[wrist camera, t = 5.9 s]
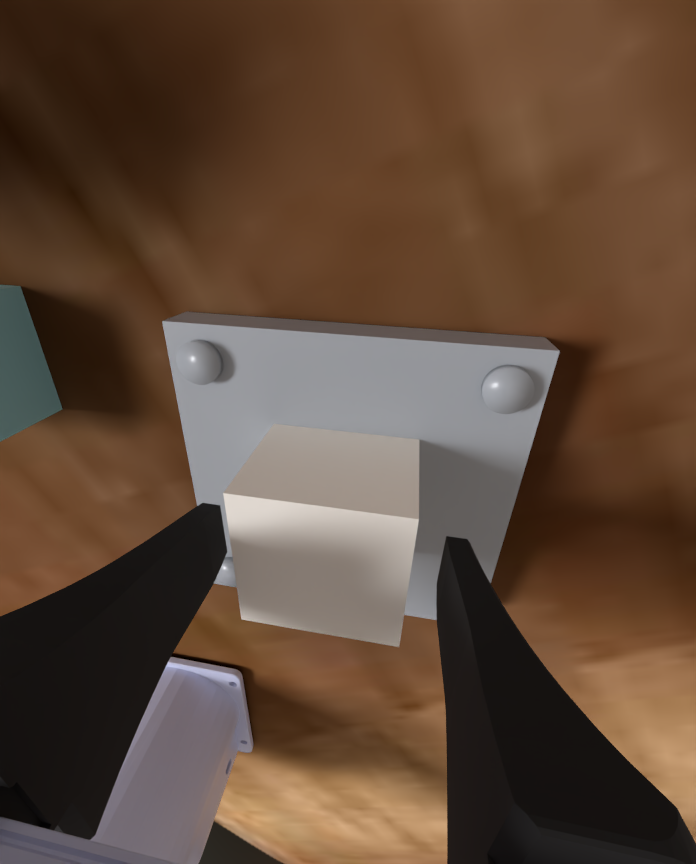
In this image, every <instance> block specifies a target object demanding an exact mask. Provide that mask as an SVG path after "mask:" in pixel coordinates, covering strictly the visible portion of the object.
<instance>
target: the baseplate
mask: <svg viewBox="0 0 696 864" xmlns="http://www.w3.org/2000/svg"><path fill="white" fill-rule="evenodd" d="M162 323H163V328H164V334H165V339H166V344H167V349H168V355H169V360H170V365H171V370H172V376H173V381H174V386H175V391H176V397H177V402H178V407H179V412H180V418H181V423H182V428H183V433H184V439H185V444H186V449H187V454H188V460H189V465H190V470H191V475H192V481H193V486H194V491H195V496H196V502H197V506H198V505H200V504H202V503H208V504H215V505H220V507H221V514H222V520H223V527H224V533H225V540H226V546H227V554H226V556H225V559H224V561H223V564H222V566H221V568H220V571H219V573H218V575H217V577H216V579H215V582H214V584H220V585H226V586H231V587H237V585H236V578H235V571H234V564H233V557H232V550H231V543H230V537H229V530H228V523H227V516H226V509H225V502H224V496H223V493H224V491H225V490H226V489H227V487H228V486H229V484H230V483H231V482H232V480H233V479H234V478H235V476H236V475H237V473H238V472H239V471H240V469H241V468H242V467H243V465H244V464H245V463H246V461H247V460H248V458H249V457H250V456H251V454H252V453H253V452H254V450H255V449H256V447H257V446H258V445H259V443H260V442H261V441H262V439H263V438H264V437H265V435H266V434H267V432H268V431H269V430H270V428H271V427H272V426H273V424H281V425H290V426H299V427H308V428H318V429H327V430H336V431H345V432H354V433H364V434H373V435H382V436H391V437H401V438H410V439H419V522H418V529H417V535H416V541H415V548H414V554H413V561H412V567H411V573H410V580H409V586H408V593H407V599H406V605H405V612H404V615H409V616H415V617H421V618H427V619H433V620H437V609H436V598H437V579H438V574H439V569H440V564H441V559H442V554H443V549H444V545H445V540H446V536H450V537H457V538H464V539H468V541H469V542H470V544H471V546H472V548H473V550H474V553H475V555H476V557H477V559H478V561H479V563H480V565H481V567H482V569H483V571H484V573H485V575H486V576H487V578H488V580H489V582H490V584H491V581H492V578H493V574H494V571H495V567H496V564H497V561H498V557H499V554H500V551H501V547H502V544H503V541H504V537H505V534H506V530H507V527H508V524H509V520H510V517H511V514H512V510H513V507H514V504H515V500H516V497H517V494H518V490H519V487H520V483H521V480H522V477H523V473H524V470H525V467H526V463H527V460H528V457H529V453H530V450H531V446H532V443H533V440H534V436H535V433H536V430H537V426H538V423H539V420H540V416H541V413H542V409H543V406H544V403H545V399H546V396H547V393H548V389H549V386H550V383H551V379H552V376H553V372H554V369H555V366H556V362H557V359H558V356H559V352H560V351H559V350H558V349H557V348H556V347H555V346H554V345H553V344H552V343H551V342H550V341H548V340H547V339H546V338H545V337H534V336H520V335H506V334H492V333H478V332H464V331H450V330H436V329H421V328H407V327H393V326H379V325H365V324H351V323H337V322H323V321H309V320H295V319H281V318H267V317H253V316H239V315H225V314H211V313H197V312H185V313H182V314H179V315H177V316H174V317H171V318H169V319H166V320H164V321H162Z"/></svg>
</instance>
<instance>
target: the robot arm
mask: <svg viewBox="0 0 696 864" xmlns="http://www.w3.org/2000/svg"><path fill="white" fill-rule="evenodd" d="M226 554H227V546H226V540H225V533H224V527H223V520H222V514H221V507H220V505H215V504H208V503H202V504H200V505H198V506H197V507H195V508H194V509H192V510H191V511H189V512H188V513H186V514H185V515H184V516H182V517H181V518H179V519H178V520H176V521H175V522H173V523H172V524H171V525H169V526H168V527H166V528H165V529H163V530H162V531H160V532H159V533H157V534H156V535H154V536H153V537H151V538H150V539H148V540H147V541H145V542H144V543H142V544H141V545H139V546H138V547H136V548H134V549H133V550H131V551H130V552H128V553H126V554H125V555H123V556H121V557H120V558H118V559H117V560H115V561H113V562H112V563H110V564H108V565H107V566H105V567H103V568H101V569H100V570H98V571H96V572H94V573H92V574H91V575H89V576H87V577H85V578H83V579H81V580H79V581H77V582H75V583H74V584H72V585H70V586H68V587H66V588H63V589H61V590H59V591H57V592H55V593H53V594H51V595H48V596H46V597H44V598H42V599H40V600H38V601H36V602H33V603H31V604H29V605H27V606H24V607H22V608H20V609H17V610H15V611H13V612H10V613H8V614H5V615H3V616H0V864H198V863H199V861H200V858H201V856H202V853H203V850H204V847H205V844H206V841H207V839H208V836H209V833H210V830H211V827H212V824H213V821H214V818H215V815H216V813H217V810H218V807H219V804H220V801H221V798H222V795H223V792H224V789H225V787H226V784H227V781H228V778H229V775H230V772H231V769H232V766H233V763H234V761H235V758H236V755H237V752H238V751H241V752H246V753H250V752H251V751H252V749H253V746H254V744H253V738H252V732H251V726H250V719H249V713H248V707H247V701H246V695H245V689H244V683H243V677H242V674H241V672H240V671H239V670H237V669H233V668H228V667H223V666H218V665H212V664H207V663H202V662H197V661H192V660H186V659H181V658H176V657H171V656H172V654H173V652H174V650H175V648H176V646H177V645H178V643H179V641H180V639H181V638H182V636H183V634H184V633H185V631H186V629H187V628H188V626H189V624H190V623H191V621H192V619H193V618H194V616H195V614H196V612H197V611H198V609H199V607H200V606H201V604H202V602H203V601H204V599H205V597H206V595H207V594H208V592H209V590H210V589H211V587H212V585H213V583H214V582H215V579H216V577H217V575H218V573H219V571H220V568H221V566H222V564H223V561H224V559H225V556H226ZM436 609H437V627H438V636H439V646H440V655H441V665H442V674H443V683H444V692H445V705H446V733H447V818H448V859H447V864H696V843H695V841H694V839H693V837H692V835H691V834H690V832H689V830H688V828H687V826H686V824H685V823H684V821H683V819H682V817H681V815H680V813H679V811H678V809H677V808H676V807H675V806H674V805H673V804H672V803H671V802H670V801H669V800H668V799H667V798H666V797H665V796H664V795H663V794H662V793H661V792H660V791H659V790H658V789H657V788H656V787H655V786H654V785H653V784H652V783H651V782H649V781H648V780H647V779H646V778H645V777H644V776H643V775H642V774H641V773H640V772H639V771H638V770H637V769H636V768H635V767H634V766H633V765H632V764H631V763H630V762H629V761H628V760H627V759H626V758H625V757H624V756H623V755H622V754H621V753H620V752H619V751H618V750H617V749H616V748H615V747H614V746H613V745H612V744H611V743H610V742H609V741H608V740H607V738H606V737H605V736H604V735H603V734H602V733H601V732H600V731H599V730H598V729H597V728H596V727H595V725H594V724H593V723H592V722H591V721H590V720H589V719H588V717H587V716H586V715H585V714H584V713H583V712H582V711H581V709H580V708H579V707H578V706H577V705H576V704H575V703H574V701H573V700H572V699H571V698H570V697H569V696H568V695H567V693H566V692H565V691H564V690H563V689H562V687H561V686H560V685H559V684H558V682H557V681H556V680H555V679H554V677H553V676H552V675H551V674H550V672H549V671H548V670H547V669H546V667H545V666H544V665H543V663H542V662H541V661H540V659H539V658H538V657H537V655H536V654H535V653H534V651H533V650H532V649H531V647H530V646H529V644H528V643H527V641H526V640H525V639H524V637H523V636H522V634H521V633H520V631H519V630H518V628H517V627H516V625H515V624H514V622H513V621H512V619H511V617H510V616H509V614H508V613H507V611H506V609H505V608H504V606H503V605H502V603H501V601H500V599H499V598H498V596H497V594H496V593H495V591H494V589H493V587H492V586H491V584H490V582H489V580H488V578H487V576H486V575H485V573H484V571H483V569H482V567H481V565H480V563H479V561H478V559H477V557H476V555H475V553H474V550H473V548H472V546H471V544H470V542H469V541H468V539H464V538H457V537H450V536H446V540H445V545H444V549H443V554H442V559H441V564H440V569H439V574H438V579H437V598H436Z"/></svg>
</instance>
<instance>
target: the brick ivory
mask: <svg viewBox="0 0 696 864" xmlns="http://www.w3.org/2000/svg"><path fill="white" fill-rule="evenodd" d="M223 496H224V502H225V509H226V516H227V523H228V530H229V537H230V543H231V550H232V557H233V564H234V571H235V578H236V585H237V591H238V598H239V605H240V612H241V619H242V620H248V621H254V622H259V623H265V624H271V625H276V626H282V627H288V628H293V629H299V630H305V631H310V632H316V633H322V634H328V635H333V636H339V637H345V638H350V639H356V640H362V641H367V642H373V643H379V644H384V645H390V646H396V647H399V644H400V637H401V631H402V625H403V618H404V612H405V605H406V599H407V593H408V586H409V580H410V573H411V567H412V561H413V554H414V548H415V541H416V535H417V529H418V522H419V439H410V438H401V437H391V436H382V435H373V434H364V433H354V432H345V431H336V430H327V429H318V428H308V427H299V426H290V425H281V424H273V426H272V427H271V428H270V430H269V431H268V432H267V434H266V435H265V437H264V438H263V439H262V441H261V442H260V443H259V445H258V446H257V447H256V449H255V450H254V452H253V453H252V454H251V456H250V457H249V458H248V460H247V461H246V463H245V464H244V465H243V467H242V468H241V469H240V471H239V472H238V473H237V475H236V476H235V478H234V479H233V480H232V482H231V483H230V484H229V486H228V487H227V489H226V490H225V491H224V493H223Z"/></svg>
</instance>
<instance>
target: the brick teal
mask: <svg viewBox="0 0 696 864" xmlns="http://www.w3.org/2000/svg"><path fill="white" fill-rule="evenodd" d="M60 410H62V406H61V403H60V400H59V397H58V394H57V391H56V388H55V386H54V383H53V380H52V377H51V374H50V371H49V368H48V365H47V362H46V359H45V356H44V353H43V351H42V348H41V345H40V342H39V339H38V336H37V333H36V330H35V327H34V324H33V321H32V318H31V316H30V313H29V310H28V307H27V304H26V301H25V298H24V295H23V292H22V289H21V286H11V285H0V441H2V440H4V439H6V438H8V437H10V436H12V435H14V434H16V433H18V432H20V431H22V430H24V429H26V428H28V427H29V426H31V425H33V424H35V423H37V422H39V421H41V420H43V419H45V418H47V417H49V416H51V415H53V414H55V413H57V412H58V411H60Z"/></svg>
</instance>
